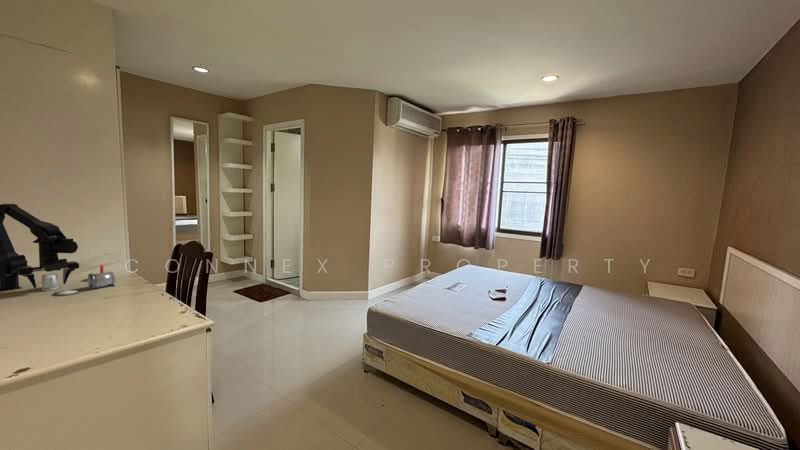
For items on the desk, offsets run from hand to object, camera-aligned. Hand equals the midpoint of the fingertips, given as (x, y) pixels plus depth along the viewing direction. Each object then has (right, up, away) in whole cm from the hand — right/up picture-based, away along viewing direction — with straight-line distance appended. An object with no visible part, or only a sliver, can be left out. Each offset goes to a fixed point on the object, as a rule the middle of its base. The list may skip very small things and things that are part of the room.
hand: (50, 286), depth 146 cm
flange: (+12, -2, -3) cm, 12 cm away
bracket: (+7, -1, +15) cm, 17 cm away
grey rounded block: (+18, -2, +7) cm, 19 cm away
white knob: (0, -2, 0) cm, 2 cm away
